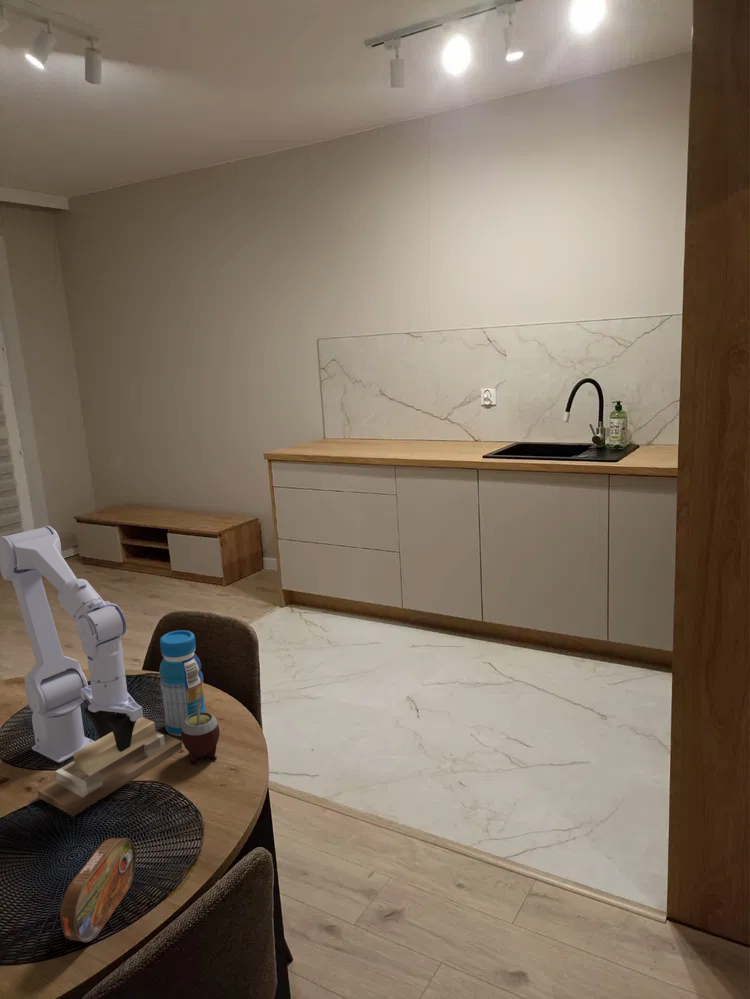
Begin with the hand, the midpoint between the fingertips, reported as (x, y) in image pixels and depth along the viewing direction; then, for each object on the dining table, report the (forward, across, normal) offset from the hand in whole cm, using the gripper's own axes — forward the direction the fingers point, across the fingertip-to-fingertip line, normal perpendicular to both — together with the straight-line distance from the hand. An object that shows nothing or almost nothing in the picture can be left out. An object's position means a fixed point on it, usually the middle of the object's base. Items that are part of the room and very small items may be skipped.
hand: (116, 744), depth 129 cm
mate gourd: (+8, +6, +14) cm, 18 cm away
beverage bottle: (+8, -5, +20) cm, 22 cm away
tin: (+8, +22, -20) cm, 31 cm away
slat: (+2, 0, 0) cm, 2 cm away
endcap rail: (+8, -5, +2) cm, 10 cm away
